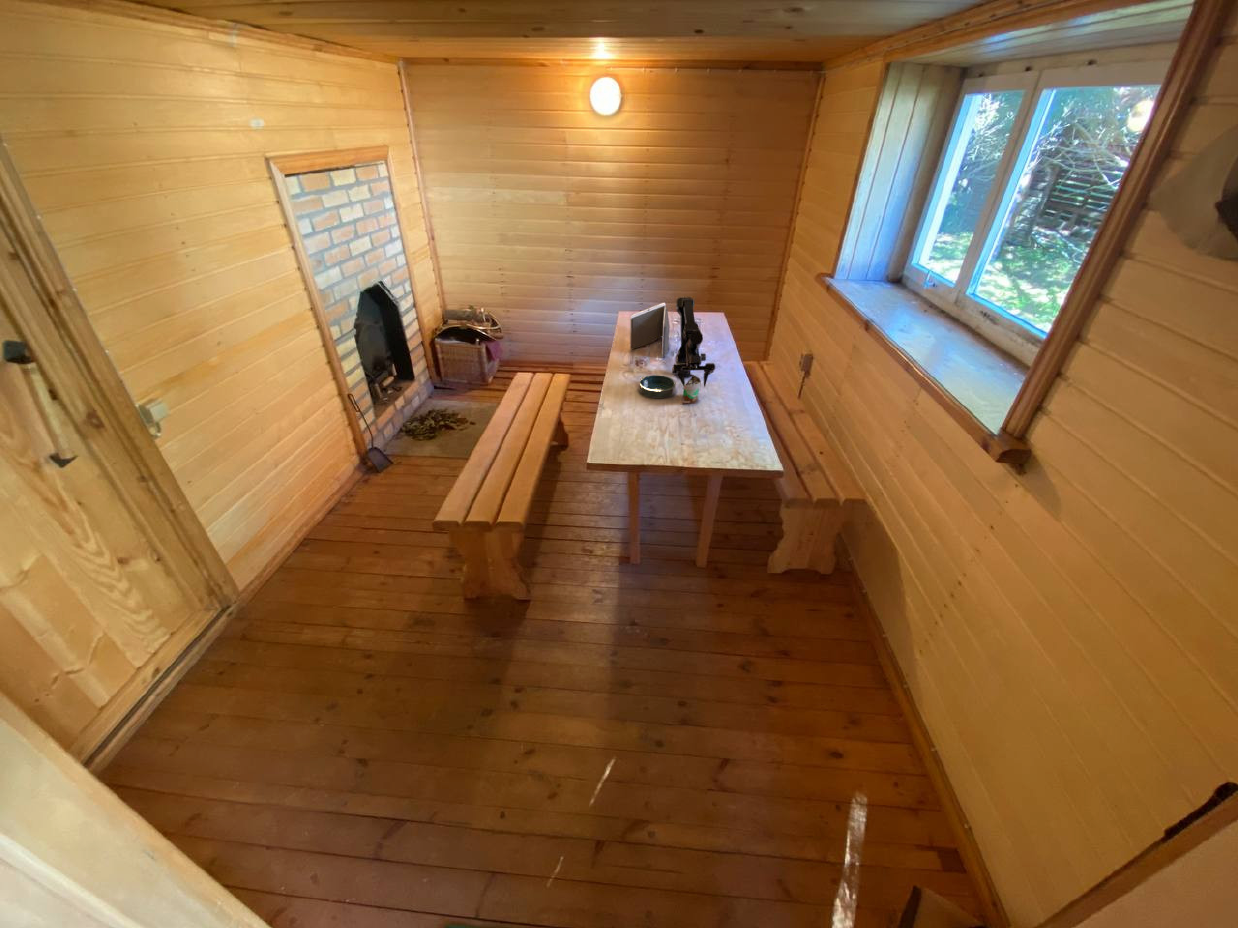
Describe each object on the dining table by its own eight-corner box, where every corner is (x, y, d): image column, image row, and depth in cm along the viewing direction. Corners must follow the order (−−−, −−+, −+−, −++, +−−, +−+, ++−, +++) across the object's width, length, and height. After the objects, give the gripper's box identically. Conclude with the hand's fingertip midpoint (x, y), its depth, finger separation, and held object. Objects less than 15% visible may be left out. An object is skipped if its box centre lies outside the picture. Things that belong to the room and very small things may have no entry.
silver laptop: (668, 359, 272) (671, 323, 261) (628, 357, 273) (629, 322, 262) (668, 335, 301) (670, 302, 290) (631, 334, 302) (632, 301, 291)
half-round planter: (694, 408, 227) (696, 387, 222) (681, 405, 229) (683, 385, 224) (703, 396, 236) (705, 377, 231) (690, 394, 239) (692, 374, 233)
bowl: (664, 380, 251) (665, 372, 249) (681, 394, 238) (682, 387, 236) (633, 386, 245) (633, 378, 243) (648, 401, 232) (649, 393, 230)
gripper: (674, 346, 222) (676, 381, 219) (717, 346, 223) (719, 380, 220) (671, 356, 233) (672, 389, 230) (711, 356, 233) (713, 388, 231)
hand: (694, 386), depth 227 cm, fingers open, 9 cm apart
